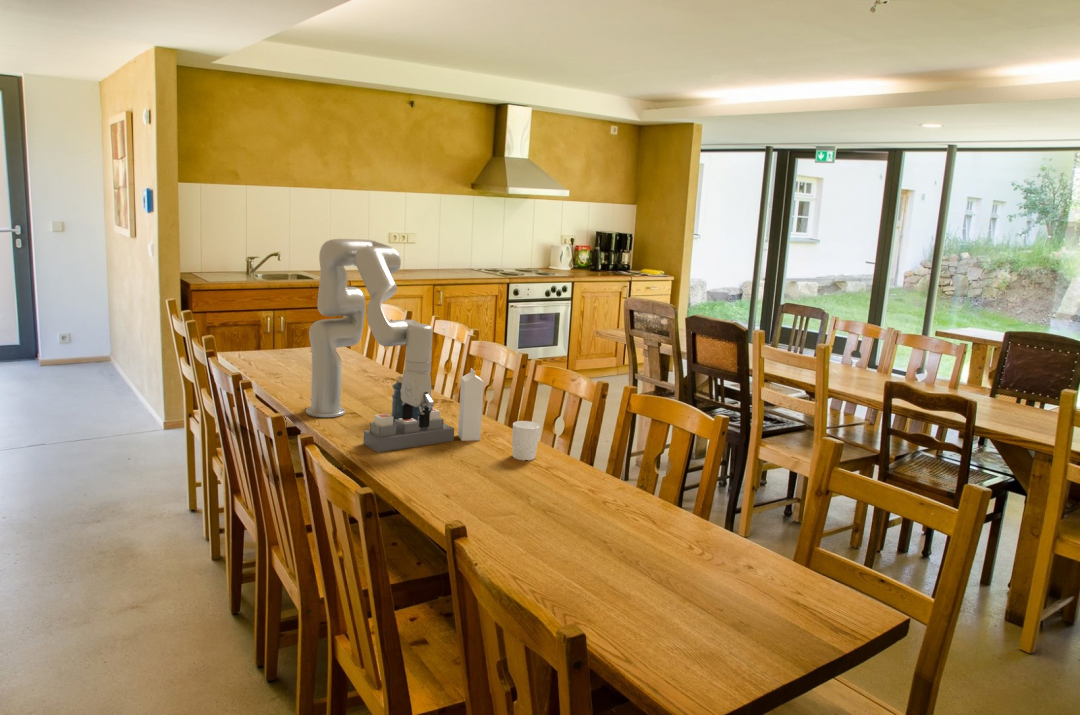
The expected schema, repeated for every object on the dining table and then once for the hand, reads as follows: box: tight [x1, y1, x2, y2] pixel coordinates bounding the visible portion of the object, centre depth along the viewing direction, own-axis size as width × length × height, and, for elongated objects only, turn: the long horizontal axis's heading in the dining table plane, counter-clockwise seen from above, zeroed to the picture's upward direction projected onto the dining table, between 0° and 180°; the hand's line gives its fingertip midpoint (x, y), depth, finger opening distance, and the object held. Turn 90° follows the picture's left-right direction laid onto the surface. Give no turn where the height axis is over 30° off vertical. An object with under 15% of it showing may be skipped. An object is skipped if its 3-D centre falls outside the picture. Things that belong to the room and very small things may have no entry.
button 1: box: [373, 413, 394, 427], centre depth 224 cm, size 4×4×3 cm
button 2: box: [398, 418, 417, 424], centre depth 230 cm, size 4×4×3 cm
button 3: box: [423, 407, 441, 421], centre depth 235 cm, size 4×4×3 cm
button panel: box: [362, 417, 455, 453], centre depth 231 cm, size 9×26×7 cm, turn 130°
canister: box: [390, 373, 433, 423], centre depth 253 cm, size 13×13×18 cm
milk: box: [457, 367, 485, 442], centre depth 239 cm, size 6×6×22 cm
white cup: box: [512, 420, 541, 461], centre depth 225 cm, size 8×8×10 cm
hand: (415, 422), depth 226 cm, fingers open, 9 cm apart
